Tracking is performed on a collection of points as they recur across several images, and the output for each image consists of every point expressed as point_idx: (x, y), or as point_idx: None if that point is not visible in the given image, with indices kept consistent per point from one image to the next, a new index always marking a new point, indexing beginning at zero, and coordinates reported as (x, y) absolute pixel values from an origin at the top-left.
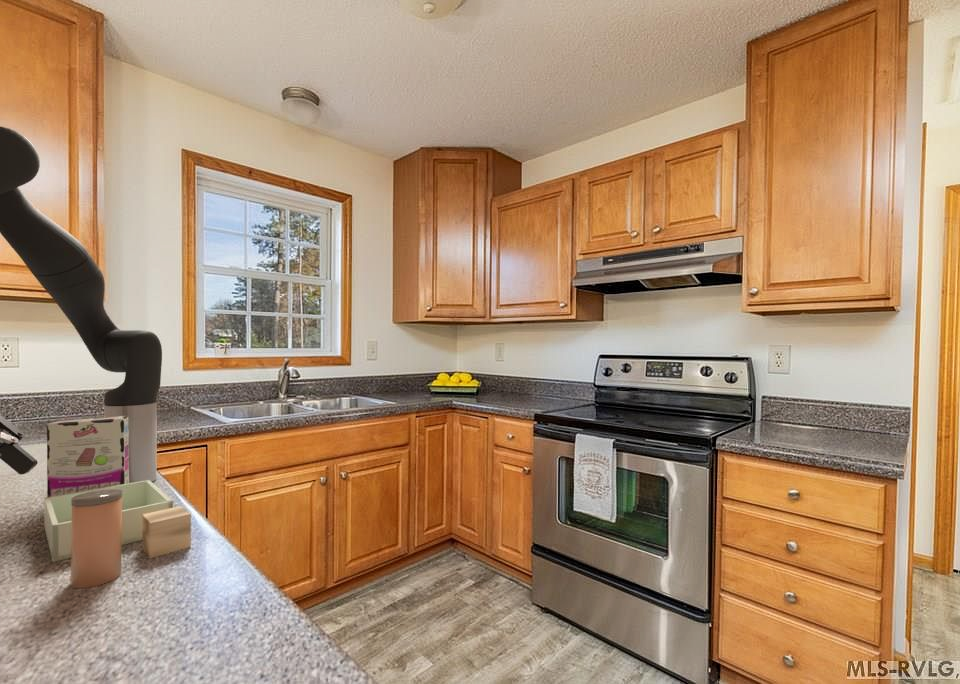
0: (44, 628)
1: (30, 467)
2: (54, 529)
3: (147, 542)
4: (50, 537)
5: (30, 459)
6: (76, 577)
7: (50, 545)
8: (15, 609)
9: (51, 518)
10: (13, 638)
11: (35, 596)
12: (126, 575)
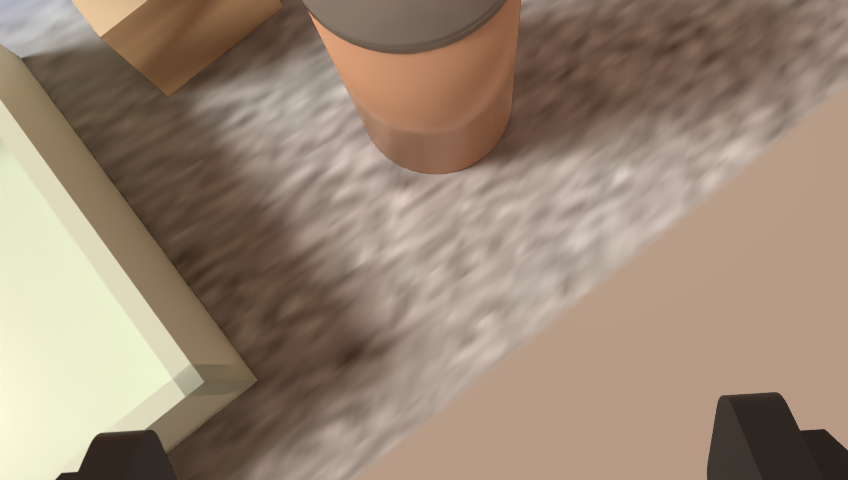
0: (770, 39)
1: (159, 456)
2: (207, 376)
3: (228, 15)
4: None
5: (127, 463)
6: (509, 109)
7: None
8: (641, 226)
9: None
10: (821, 90)
11: (553, 227)
12: None
